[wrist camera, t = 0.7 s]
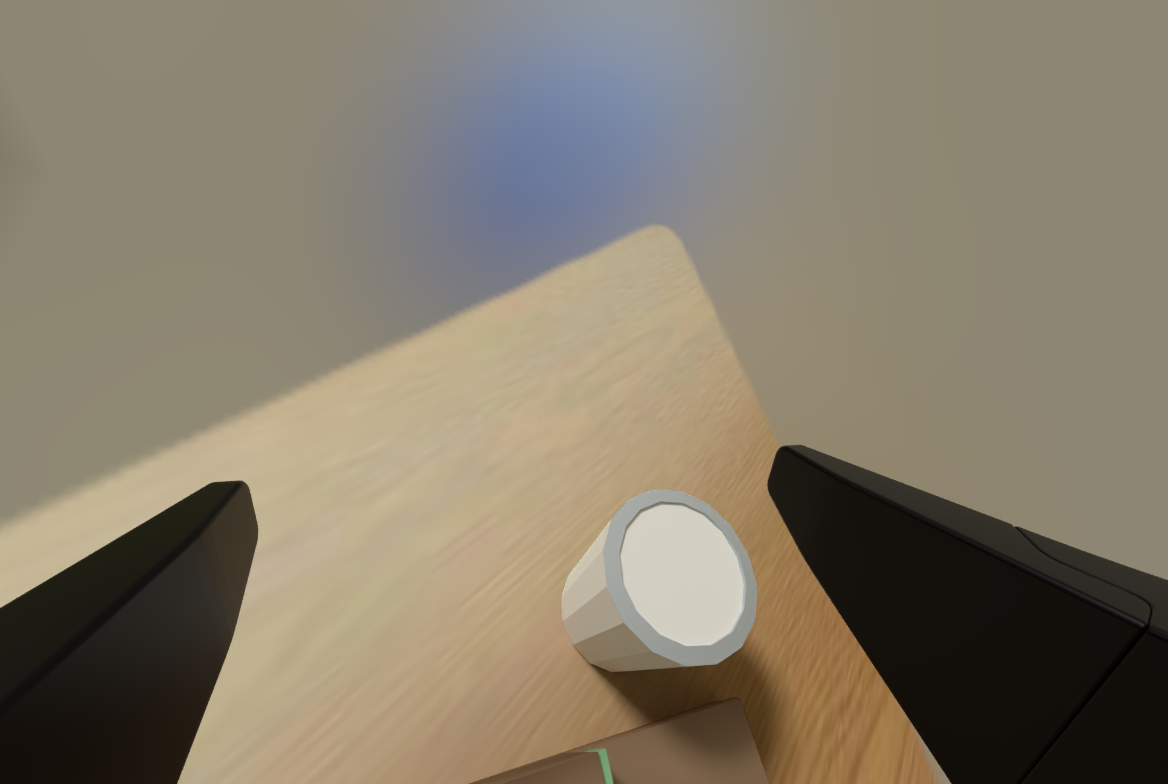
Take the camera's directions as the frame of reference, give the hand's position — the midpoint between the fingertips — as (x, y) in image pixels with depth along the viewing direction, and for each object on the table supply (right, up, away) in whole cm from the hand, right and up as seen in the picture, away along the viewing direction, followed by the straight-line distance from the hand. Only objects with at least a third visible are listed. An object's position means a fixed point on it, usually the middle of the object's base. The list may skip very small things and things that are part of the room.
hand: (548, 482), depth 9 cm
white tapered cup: (+2, -9, +17) cm, 19 cm away
